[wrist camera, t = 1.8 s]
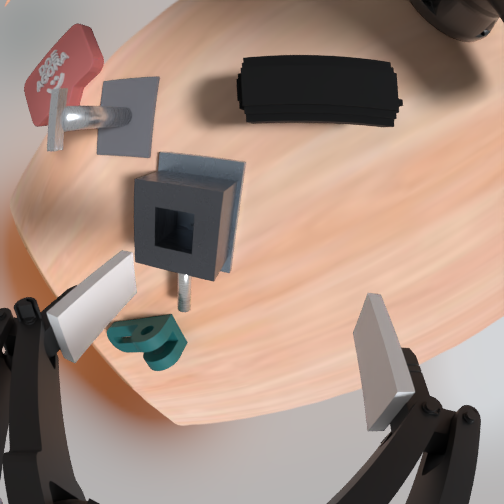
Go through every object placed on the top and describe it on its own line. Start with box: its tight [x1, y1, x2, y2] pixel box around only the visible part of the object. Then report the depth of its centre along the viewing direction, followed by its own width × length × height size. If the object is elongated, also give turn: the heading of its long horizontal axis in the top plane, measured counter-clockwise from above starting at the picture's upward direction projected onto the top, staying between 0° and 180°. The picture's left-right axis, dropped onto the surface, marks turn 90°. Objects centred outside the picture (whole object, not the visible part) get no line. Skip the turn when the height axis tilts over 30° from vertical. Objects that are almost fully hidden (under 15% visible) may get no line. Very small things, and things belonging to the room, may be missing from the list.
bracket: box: [107, 314, 188, 371], centre depth 48 cm, size 18×7×8 cm, turn 109°
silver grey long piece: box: [47, 88, 132, 151], centre depth 28 cm, size 7×3×14 cm, turn 171°
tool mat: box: [97, 77, 160, 158], centre depth 34 cm, size 12×10×1 cm
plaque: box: [24, 24, 104, 127], centre depth 31 cm, size 18×4×15 cm
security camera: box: [237, 55, 403, 127], centre depth 25 cm, size 7×18×10 cm, turn 93°
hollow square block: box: [134, 152, 246, 312], centre depth 37 cm, size 22×12×8 cm, turn 171°
